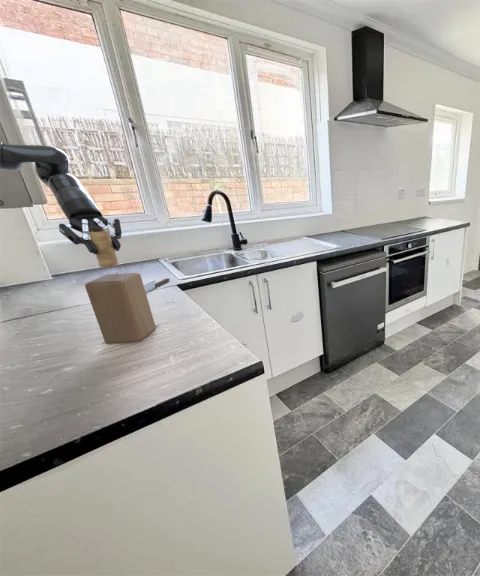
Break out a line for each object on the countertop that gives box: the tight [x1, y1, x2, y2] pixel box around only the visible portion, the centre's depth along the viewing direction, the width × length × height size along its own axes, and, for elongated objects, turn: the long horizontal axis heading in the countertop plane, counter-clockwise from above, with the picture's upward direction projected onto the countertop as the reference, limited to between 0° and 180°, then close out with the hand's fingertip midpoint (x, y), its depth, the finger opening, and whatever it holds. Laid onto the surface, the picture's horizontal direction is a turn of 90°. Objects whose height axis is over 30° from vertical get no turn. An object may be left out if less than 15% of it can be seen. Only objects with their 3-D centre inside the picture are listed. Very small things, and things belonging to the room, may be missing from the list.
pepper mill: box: [88, 226, 120, 268], centre depth 89 cm, size 4×4×11 cm
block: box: [84, 272, 156, 345], centre depth 96 cm, size 10×10×20 cm
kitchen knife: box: [143, 278, 170, 293], centre depth 140 cm, size 4×1×30 cm
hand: (106, 250), depth 88 cm, fingers closed on pepper mill, 4 cm apart
